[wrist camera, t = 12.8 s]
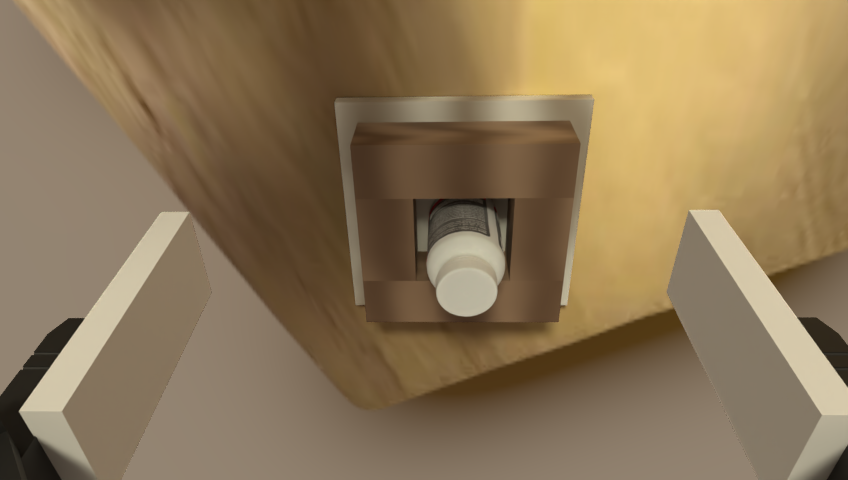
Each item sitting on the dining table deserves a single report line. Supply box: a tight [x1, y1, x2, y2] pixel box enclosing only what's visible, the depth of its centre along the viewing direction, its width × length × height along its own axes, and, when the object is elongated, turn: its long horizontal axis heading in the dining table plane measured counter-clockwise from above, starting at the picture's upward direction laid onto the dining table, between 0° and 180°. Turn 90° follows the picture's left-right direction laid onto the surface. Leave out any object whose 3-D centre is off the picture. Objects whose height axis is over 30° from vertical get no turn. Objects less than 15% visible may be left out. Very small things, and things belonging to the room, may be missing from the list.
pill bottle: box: [426, 198, 505, 317], centre depth 43 cm, size 5×5×10 cm
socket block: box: [334, 95, 594, 322], centre depth 46 cm, size 18×18×5 cm
